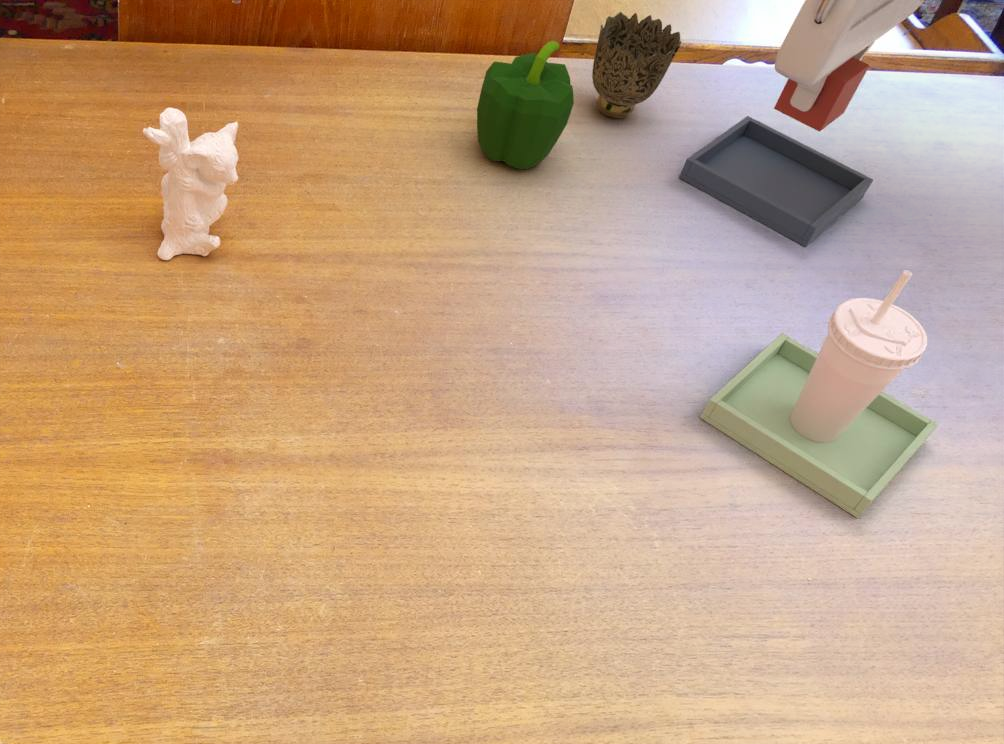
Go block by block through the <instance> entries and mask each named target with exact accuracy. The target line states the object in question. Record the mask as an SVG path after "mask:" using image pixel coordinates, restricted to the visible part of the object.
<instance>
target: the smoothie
mask: <svg viewBox="0 0 1004 744" xmlns="http://www.w3.org/2000/svg"><path fill="white" fill-rule="evenodd" d="M912 276H913V272H912V271H910V270H907V269H906V270H903V271H902V273H901V275H900V276H899V278H898V279H897V280H896V282H895V284H894V285H893V287H892V288H891V290H890V291H889V293H888V294H887V296H886V297H885V299H884V300H880V299H877V298H869V297H856V298H851V299H847V300H845V301H843V302H842V303H840V304H839V305H838V306H837V308H835V310H834V312H833V313H832V314H831V316H830V318H829V319H828V323H827V330H828V332H827V334H826V337H825V338H824V341H823V342H822V344H821V347H820V350H819V352H818V356H817V358H816V360H815V363H814V365H813V367H812V369H811V371H810V374H809V376H808V378H807V380H806V382H805V385H804V387H803V389H802V391H801V393H800V396H799V398H798V400H797V402H796V404H795V407H794V409H793V411H792V413H791V416H790V421H791V424H792V426H793V428H794V429H795V430H796V431H797V432H798V433H799V434H800V435H802V436H803V437H805V438H807V439H809V440H812V441H815V442H823V443H825V442H831V441H833V440H835V439H836V438H837V437H838V436H839V435H840V434H841V433H842V432H843V431H844V430H845V429H846V428H847V427H848V426H849V425H850V424H851V423H852V422H853V421H854V420H855V419H856V418H857V417H858V416H859V415H860V414H861V413H862V412H863V410H864V409H865V408H866V407H867V406H868V405H869V404H870V403H871V402H872V401H873V400H874V399H875V398H876V397H877V396H878V395H879V394H880V393H881V392H882V391H883V392H884V390H885V389H887V387H888V386H889V385H890V384H891V383H892V382H893V381H894V380H895V379H896V378H897V377H898V376H899V375H901V373H902V372H903V371H904V370H905V369H907V368H911V367H912V366H914V365H915V364H917V363H919V360H920V359H921V357H922V355H923V353H924V352H925V351H926V349H927V348H928V336H927V333H926V331H925V329H924V327H923V325H921V323H920V322H919V321H918V320H917V319H916V317H914V316H912V315H911V314H910V313H909V312H907V311H906V310H904V309H903V308H901V307H899V306H897V305H895V304H894V302H895V301H896V299H897V298H898V296H899V295H900V293H901V292H902V291H903V289H904V288H905V287H906V284H907V283H908V282H909V281H910V279H911V277H912Z"/></svg>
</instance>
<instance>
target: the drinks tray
mask: <svg viewBox="0 0 1004 744" xmlns="http://www.w3.org/2000/svg"><path fill="white" fill-rule="evenodd" d="M818 354H819V352H816V351H814V350H812V349H811V348H810V347H807V346H806V345H804V344H803V343H800V342H799V341H797V340H795V339H794V338H792V337H790V336H789V335H787V334H786V333H784V332H782V333H780V335H778V336H777V337H776V338H775V339H774V340H773V341H772V342H771V343H770V344H768V346H766V347H765V348H764V349H763V350H762V351H761V352H759V354H758V355H756V356H755V357H754V358H753V359H752V360H751V361H750V362H748V364H747V365H746V366H745V367H743V368H742V369H741V370H740V371H739V372H738V373H736V375H734V377H733V378H732V379H730V380H729V381H728V382H727V383H725V385H723V386H722V388H720V389H719V390H718V391H717V392H716V393H715V394H714V395H713V396H711V397H710V399H709V400H708V402H707V404H706V405H705V407H704V409H703V411H702V412H701V414H700V416H699V419H701V420H702V421H704V422H705V423H707V424H709V425H710V426H712V427H713V428H715V429H717V430H718V431H720V432H721V433H723V434H724V435H726V436H728V437H729V438H731V439H732V440H734V441H735V442H737V443H739V444H740V445H742V446H744V447H745V448H747V449H748V450H749V451H751V452H752V453H755V454H756V455H758V456H760V457H761V458H762V459H764V460H765V461H767V462H768V463H770V464H772V465H773V466H775V467H777V468H778V469H780V470H781V471H782V472H784V473H786V474H787V475H789V476H791V477H792V478H794V479H795V480H797V481H798V482H800V483H801V484H803V485H804V486H806V487H808V488H809V489H811V490H812V491H814V492H815V493H817V494H819V495H820V496H822V497H823V498H825V499H826V500H828V501H830V502H831V503H833V504H834V505H836V506H837V507H839V508H840V509H842V510H844V511H845V512H847V513H849V514H850V515H852V516H853V517H855V518H856V519H859V518H860V516H862V515H863V513H864V512H865V511H866V510H867V509H868V508H869V506H870V505H871V504H872V503H873V502H874V500H876V499H877V497H879V495H880V494H881V493H882V491H884V489H885V488H886V487H887V486H888V485H889V484H890V482H892V480H893V479H894V478H895V476H896V475H897V474H898V473H899V472H900V471H901V469H902V468H904V466H905V465H906V464H907V463H908V461H909V460H910V459H911V458H912V457H913V456H914V455H915V454H916V453H917V451H918V450H919V449H921V446H922V445H923V444H924V443H925V442H926V441H927V440H928V438H929V437H930V436H931V435H932V433H933V432H934V431H935V430H936V429H937V427H938V426H939V424H938V422H936V421H934V420H932V419H931V418H929V417H927V416H925V415H924V414H922V413H920V412H918V411H917V410H915V409H914V408H912V407H910V406H908V405H907V404H905V403H903V402H901V401H900V400H898V399H896V398H895V397H893V396H891V395H889V394H887V393H886V392H884V390H883V391H882V392H881V393H880V394H879V395H878V396H877V397H876V398H875V399H874V400H873V401H872V402H871V403H870V404H869V405H868V406H867V407H866V408H865V409H864V410H863V412H862V413H861V414H860V415H859V416H858V417H857V418H856V419H855V420H854V421H853V422H852V423H851V424H850V425H849V426H848V427H847V428H846V429H845V430H844V431H843V432H842V433H841V434H840V435H839V436H838V437H837V438H836V439H835V440H833V441H831V442H825V443H823V442H815V441H812V440H809V439H807V438H805V437H803V436H802V435H800V434H799V433H798V432H797V431H796V430H795V429H794V428H793V426H792V424H791V421H790V416H791V413H792V411H793V409H794V407H795V404H796V402H797V400H798V398H799V396H800V393H801V391H802V389H803V387H804V385H805V382H806V380H807V378H808V376H809V374H810V371H811V369H812V367H813V365H814V363H815V360H816V358H817V356H818Z"/></svg>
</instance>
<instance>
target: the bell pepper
mask: <svg viewBox="0 0 1004 744" xmlns="http://www.w3.org/2000/svg"><path fill="white" fill-rule="evenodd" d="M559 48H560V44H559V42H557V41H556V40H550V41H548V42H547V43H545V44H544V45H543V46H542V47H541V49H540V50H539V52H538V53H535V52H534V51H533V52H530V53H525V54H522V55H518V56H515V57H514V59H513V60H512V62H511V63H509V62H502V61H495V60H494V61H493V62H492V63H491V64H490V66H489V67H488V68H487V70H486V71H485V74H484V78H483V82H482V85H481V89H480V94H479V98H478V103H477V107H476V132H477V142H478V144H479V146H480V148H481V150H482V152H483V154H484V155H485V157H486V158H488V159H490V160H492V161H494V162H501V161H503V162H504V163H505V164H506V165H507V166H510V167H512V168H515V169H517V170H527V169H532V168H534V167H535V166H537V165H538V164H540V163H541V162H543V160H545V159H546V158H547V157H548V156H549V154H550V153H551V152H552V150H553V149H554V147H555V145H556V143H557V142H558V141H559V139H560V137H561V135H562V133H563V132H564V130H565V128H566V126H567V125H568V121H569V119H570V116H571V113H572V110H573V107H574V104H575V97H574V87H573V85H572V83H571V77H570V74H569V71H568V69H567V66H566V64H564V63H557V62H556V63H555V62H548V59H549V58H550V57H551V55H552V54H554V53H556V52H557V51H558V50H559Z"/></svg>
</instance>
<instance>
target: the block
mask: <svg viewBox="0 0 1004 744" xmlns="http://www.w3.org/2000/svg"><path fill="white" fill-rule="evenodd" d="M870 66H871V65H870V64H868V63H866V62H864V61H862V60H861V61H860V60H858V59H855V58H853V57H852V58H851V59H849V60H848V61H846V62H845V63H844V64H842V65H841V66H839V67H838V68H837V69H835V70H834V71H833V72H831V74H830V75H828V76H827V78H826V80H825V83H824V85H823V88H825V89H824V91H823V92H822V94H821V96H820V98H819V100H818V102H817V104H816V105H814V106H813V107H812V108H810V109H809V110H808V111H805V112H804V111H801V110H799V109H797V108H795V107H793V106H792V105H791V103H790V100H791V98H792V96H793V94H794V92H795V90H796V88H797V86H798V85H797V84H798V83H797V82H795V81H793V80H790V79H789V78H787V80H786V83H785V84H784V87H783V89H782V91H781V93H780V95H779V97H778V99H777V100H776V103H775V105H774V107H773V109H774V110H775V111H777V112H779V113H781V114H783V115H785V116H788V117H789V118H791V119H793V120H795V121H797V122H799V123H801V124H804V125H805V126H807V127H809V128H811V129H813V130H815V131H817V132H821V131H822V130H824V129H825V128H827V127H828V126H829V125H831V124H832V123H833V122H834V121H836V120H837V119H839V118H840V117H841V116H842V115H843V114H845V112H846V110H847V109H848V106H849V104H850V103H851V101H852V99H853V97H854V95H855V93H856V92H857V90H858V89H859V86H860V84H861V82H862V81H863V79H864V77H865V75H866V73H867V71H868V69H869V68H870Z"/></svg>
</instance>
